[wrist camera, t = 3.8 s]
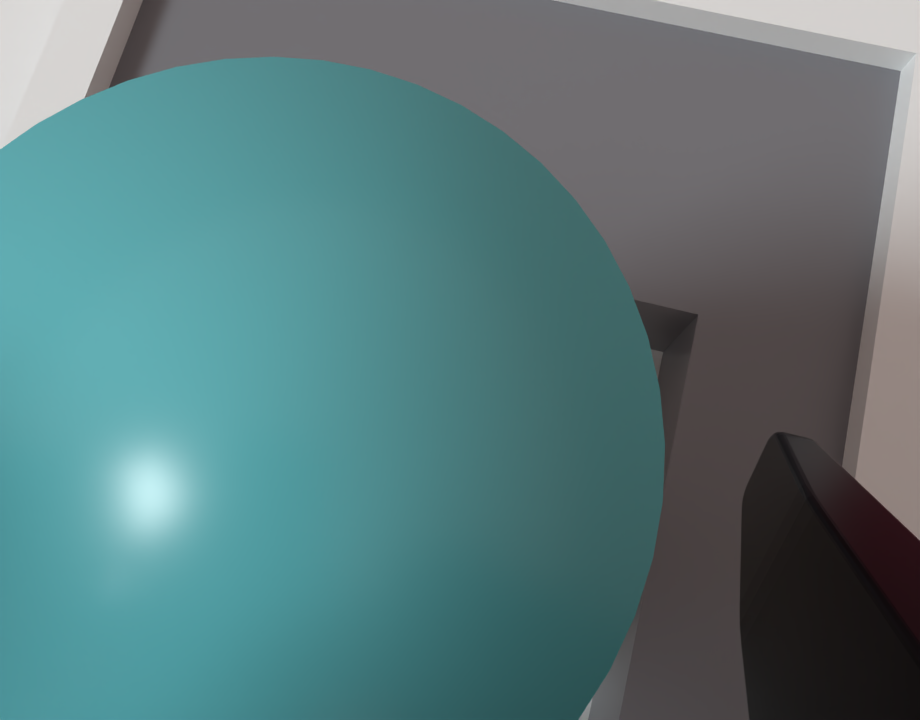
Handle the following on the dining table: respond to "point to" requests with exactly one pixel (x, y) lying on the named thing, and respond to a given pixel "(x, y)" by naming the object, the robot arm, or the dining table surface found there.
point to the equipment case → (646, 227)
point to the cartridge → (311, 410)
